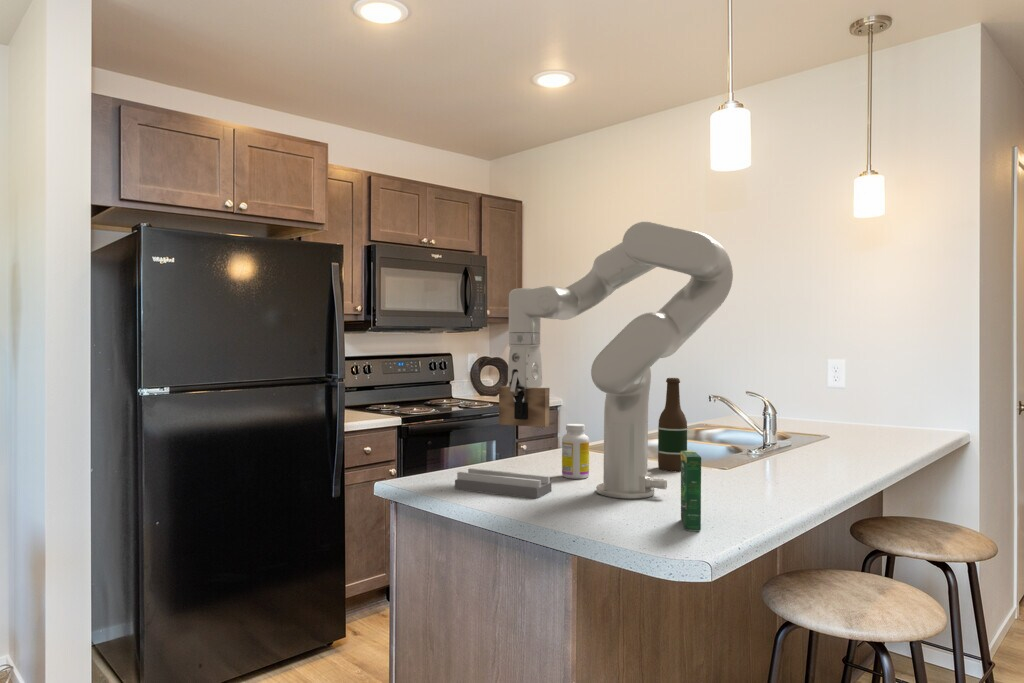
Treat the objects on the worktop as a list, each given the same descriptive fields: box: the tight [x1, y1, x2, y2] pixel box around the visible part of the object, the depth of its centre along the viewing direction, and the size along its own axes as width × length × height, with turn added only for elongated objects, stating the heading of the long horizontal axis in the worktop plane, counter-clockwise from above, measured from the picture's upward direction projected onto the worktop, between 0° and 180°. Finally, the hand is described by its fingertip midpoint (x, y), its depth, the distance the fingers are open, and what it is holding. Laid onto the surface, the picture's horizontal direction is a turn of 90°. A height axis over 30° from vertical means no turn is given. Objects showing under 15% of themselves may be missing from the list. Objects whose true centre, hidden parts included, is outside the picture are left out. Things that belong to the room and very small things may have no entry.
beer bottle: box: [657, 377, 688, 473], centre depth 177 cm, size 8×8×24 cm
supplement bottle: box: [561, 423, 590, 480], centre depth 165 cm, size 7×7×13 cm
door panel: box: [498, 385, 551, 428], centre depth 159 cm, size 12×2×9 cm, turn 64°
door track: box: [454, 467, 553, 499], centre depth 149 cm, size 20×8×4 cm, turn 64°
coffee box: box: [680, 450, 702, 532], centre depth 122 cm, size 8×3×13 cm, turn 172°
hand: (524, 417), depth 159 cm, fingers closed on door panel, 2 cm apart
